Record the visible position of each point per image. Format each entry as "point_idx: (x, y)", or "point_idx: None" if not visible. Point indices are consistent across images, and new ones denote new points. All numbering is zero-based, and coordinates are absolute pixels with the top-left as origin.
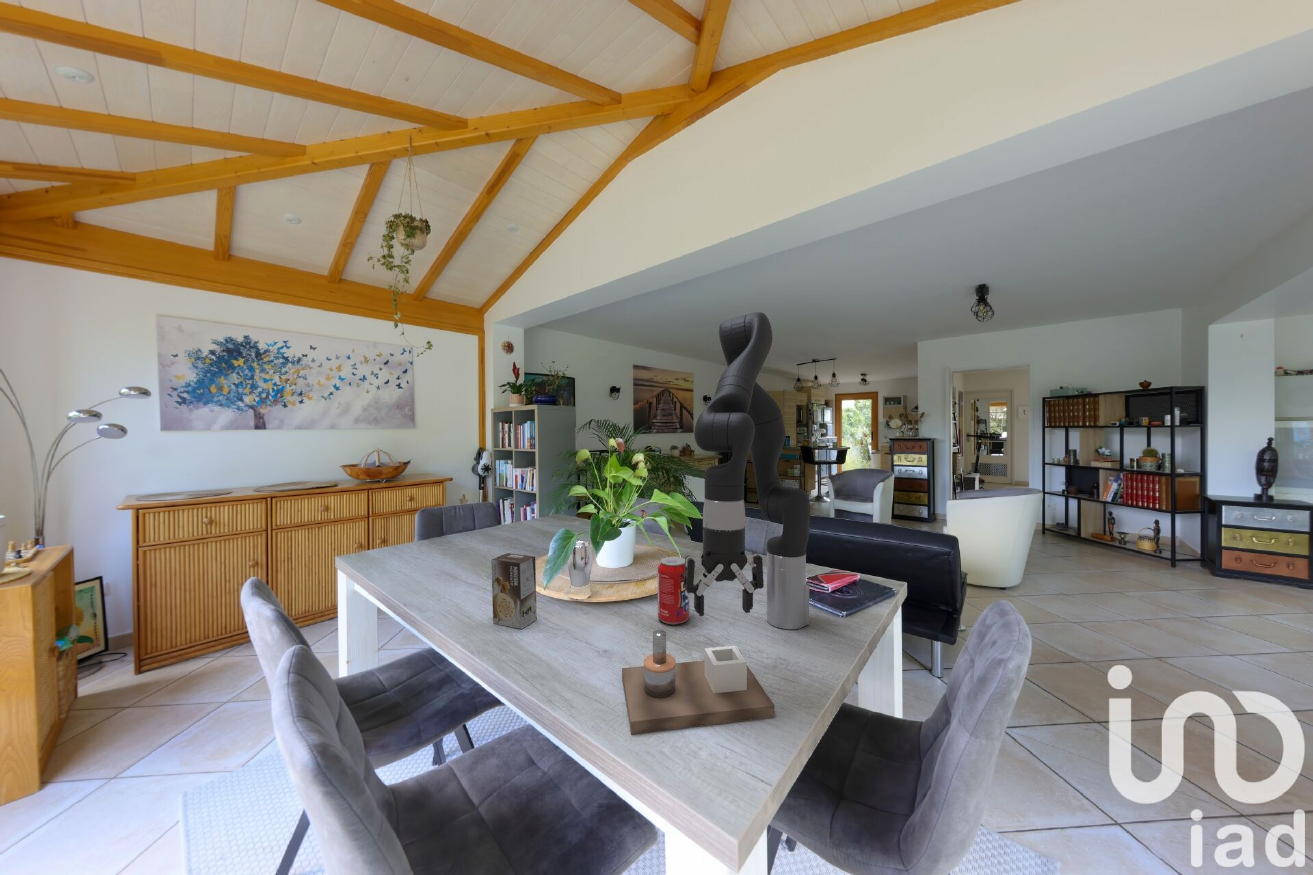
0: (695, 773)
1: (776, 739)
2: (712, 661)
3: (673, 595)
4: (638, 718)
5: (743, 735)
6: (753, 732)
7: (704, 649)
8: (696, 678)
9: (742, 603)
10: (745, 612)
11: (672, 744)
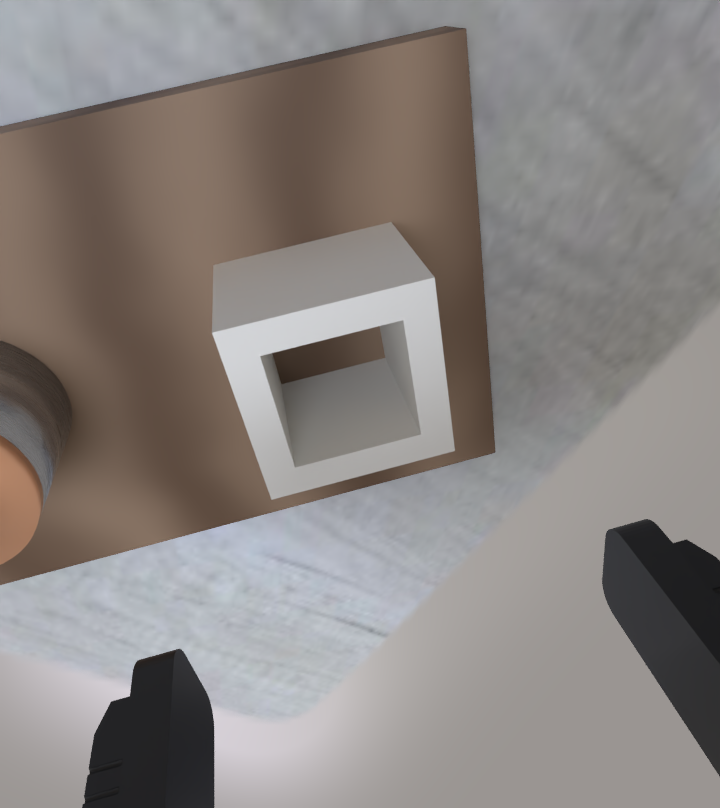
0: (205, 643)
1: (449, 514)
2: (265, 468)
3: None
4: None
5: (352, 514)
6: (387, 498)
7: (212, 332)
8: (169, 304)
9: (640, 566)
10: (603, 578)
11: (121, 577)
